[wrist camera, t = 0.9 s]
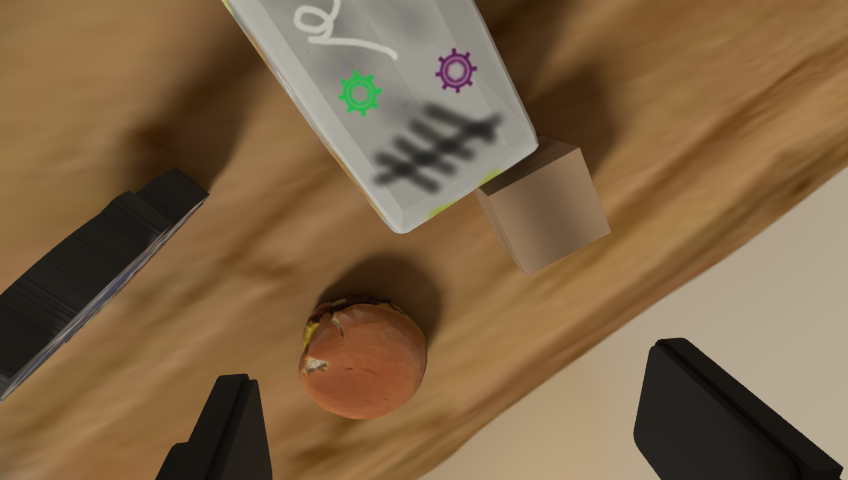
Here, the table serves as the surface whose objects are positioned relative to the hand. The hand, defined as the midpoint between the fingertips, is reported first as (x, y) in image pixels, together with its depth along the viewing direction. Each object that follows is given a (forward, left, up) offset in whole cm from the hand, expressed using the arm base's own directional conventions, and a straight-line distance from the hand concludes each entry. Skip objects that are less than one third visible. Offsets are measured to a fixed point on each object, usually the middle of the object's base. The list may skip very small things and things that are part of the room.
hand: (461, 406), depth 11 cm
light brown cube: (-8, +5, -23) cm, 25 cm away
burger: (+8, +10, -23) cm, 26 cm away
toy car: (-3, -11, -23) cm, 26 cm away
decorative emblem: (+16, -5, -23) cm, 28 cm away
